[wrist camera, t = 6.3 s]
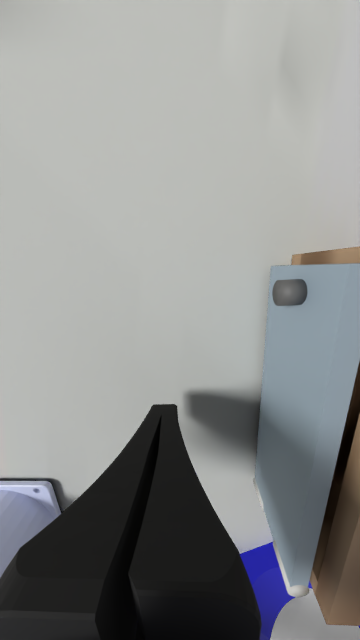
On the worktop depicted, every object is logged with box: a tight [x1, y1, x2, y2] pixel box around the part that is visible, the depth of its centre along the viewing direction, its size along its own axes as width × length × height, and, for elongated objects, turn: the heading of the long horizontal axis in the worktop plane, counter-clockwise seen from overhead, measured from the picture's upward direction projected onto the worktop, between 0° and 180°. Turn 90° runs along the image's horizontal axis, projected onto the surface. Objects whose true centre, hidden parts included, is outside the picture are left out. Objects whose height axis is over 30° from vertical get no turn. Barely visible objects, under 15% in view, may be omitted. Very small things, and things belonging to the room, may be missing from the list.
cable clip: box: [240, 542, 360, 640], centre depth 14 cm, size 12×4×6 cm, turn 126°
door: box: [253, 263, 360, 597], centre depth 9 cm, size 2×16×5 cm, turn 3°
